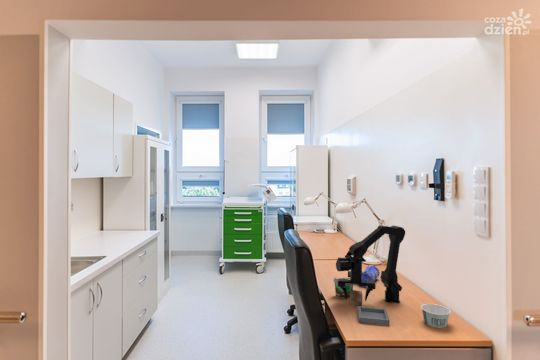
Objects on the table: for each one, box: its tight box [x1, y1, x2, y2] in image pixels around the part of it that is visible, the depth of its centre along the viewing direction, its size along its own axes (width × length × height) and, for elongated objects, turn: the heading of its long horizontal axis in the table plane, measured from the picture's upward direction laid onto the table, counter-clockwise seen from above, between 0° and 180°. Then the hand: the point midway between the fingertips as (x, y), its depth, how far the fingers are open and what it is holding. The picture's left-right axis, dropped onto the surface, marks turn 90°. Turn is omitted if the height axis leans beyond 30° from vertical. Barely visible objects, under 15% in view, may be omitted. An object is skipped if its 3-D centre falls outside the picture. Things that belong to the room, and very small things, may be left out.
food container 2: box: [420, 303, 452, 329], centre depth 145 cm, size 12×12×6 cm
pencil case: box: [362, 264, 381, 288], centre depth 202 cm, size 22×9×10 cm, turn 148°
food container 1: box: [333, 277, 354, 299], centre depth 178 cm, size 12×6×10 cm, turn 105°
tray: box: [357, 306, 390, 326], centre depth 151 cm, size 13×13×2 cm
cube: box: [349, 289, 363, 307], centre depth 168 cm, size 6×6×6 cm
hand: (356, 300), depth 168 cm, fingers open, 9 cm apart
